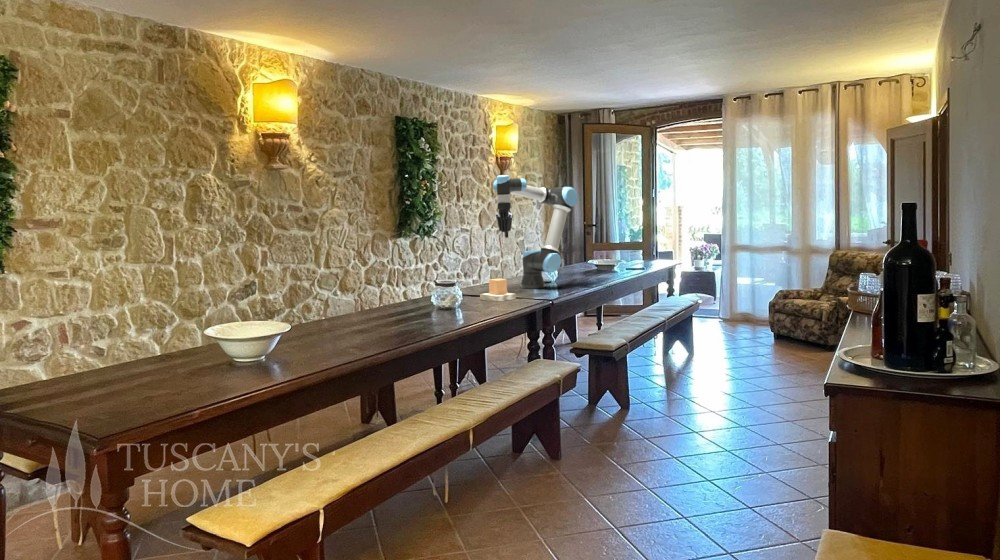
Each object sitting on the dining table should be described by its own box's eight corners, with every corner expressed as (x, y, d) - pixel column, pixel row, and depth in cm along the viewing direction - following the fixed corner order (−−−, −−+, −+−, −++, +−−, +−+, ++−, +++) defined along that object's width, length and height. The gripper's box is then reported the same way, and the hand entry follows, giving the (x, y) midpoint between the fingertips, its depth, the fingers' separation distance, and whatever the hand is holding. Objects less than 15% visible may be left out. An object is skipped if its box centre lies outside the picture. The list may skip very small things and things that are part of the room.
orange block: (499, 292, 391) (498, 278, 390) (507, 293, 385) (506, 279, 385) (489, 294, 386) (488, 279, 385) (497, 295, 381) (497, 280, 380)
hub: (499, 296, 396) (499, 284, 395) (515, 299, 385) (515, 286, 384) (480, 299, 387) (479, 287, 386) (496, 301, 376) (496, 289, 376)
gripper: (491, 202, 403) (493, 243, 406) (506, 202, 394) (508, 244, 397) (501, 202, 408) (502, 242, 411) (516, 201, 398) (517, 243, 401)
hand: (505, 243), depth 404 cm, fingers closed
